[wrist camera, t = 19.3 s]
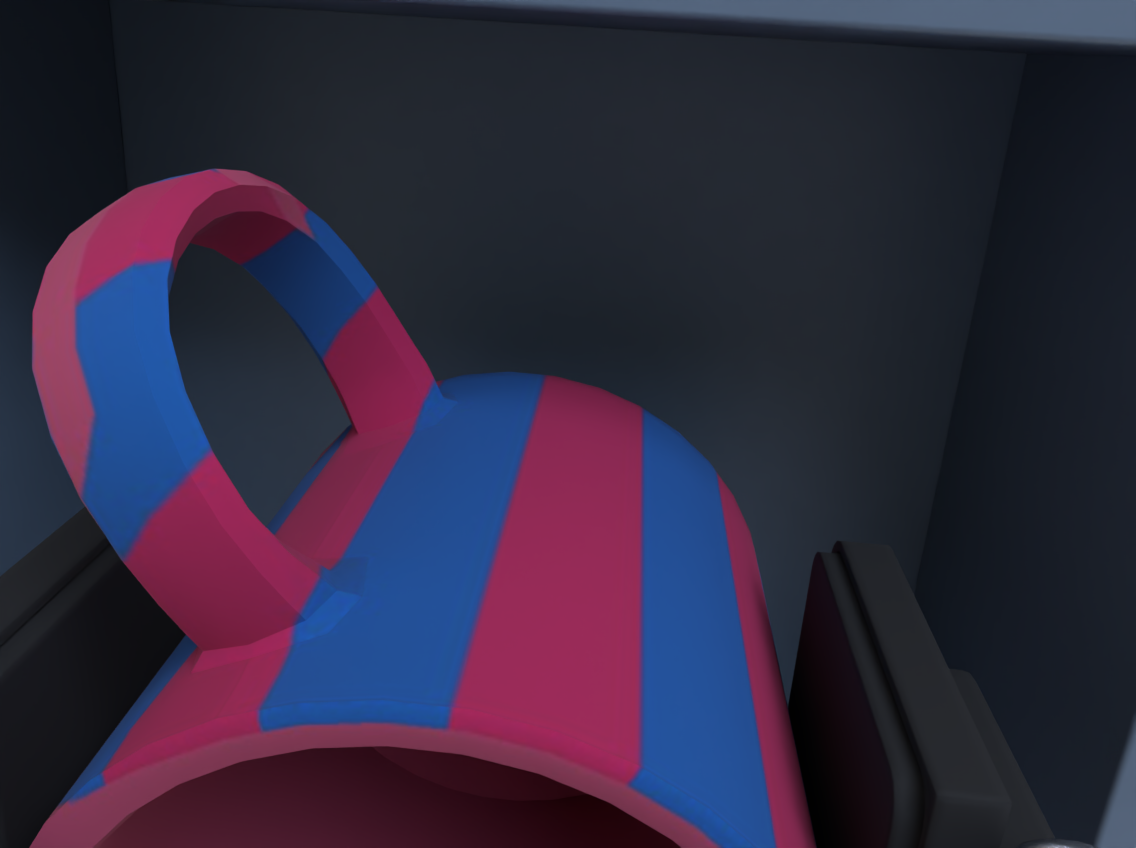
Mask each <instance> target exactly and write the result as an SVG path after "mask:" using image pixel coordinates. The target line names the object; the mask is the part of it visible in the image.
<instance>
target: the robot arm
mask: <svg viewBox="0 0 1136 848" xmlns="http://www.w3.org/2000/svg"><path fill="white" fill-rule="evenodd" d="M185 635H186V634H185V633H184V632H183V631H182V630H181V629H180V627H179V626H178V625H177V624H176V623H175V622H174V621H173V620H172V619H171V618H170V617H169V616H168V615H167V613H166V612H165V611H164V610H163V609H162V608H161V607H160V606H159V605H158V604H157V602H156V601H155V600H154V599H153V598H152V596H151V595H150V594H149V593H148V592H147V590H146V589H145V588H144V587H143V586H142V584H141V583H140V582H139V581H138V579H137V578H136V577H135V576H134V575H133V573H132V572H131V571H130V570H129V569H128V567H127V566H126V565H125V564H124V563H123V561H122V560H121V559H120V557H119V556H118V554H117V553H116V551H115V550H114V548H113V547H112V545H111V544H110V542H109V540H108V539H107V537H106V536H105V534H104V533H103V531H102V530H101V528H100V527H99V526H98V524H97V523H96V521H95V520H94V518H93V517H92V515H91V514H90V512H89V511H88V509H87V508H86V507H84V508H82V509H81V510H80V511H79V512H78V513H76V514H75V515H74V516H73V517H72V518H70V519H69V520H68V521H67V522H65V523H64V524H63V525H62V526H61V527H59V528H58V529H57V530H56V531H55V532H53V533H52V534H51V535H50V536H48V537H47V538H46V539H45V540H44V541H42V542H41V543H40V544H39V545H38V546H36V547H35V548H34V549H33V550H31V551H30V552H29V553H28V554H27V555H25V556H24V557H23V558H22V559H21V560H19V561H18V562H17V563H16V564H15V565H13V566H12V567H11V568H10V569H8V570H7V571H6V572H5V573H4V574H2V575H1V576H0V848H29V847H30V846H31V844H32V842H33V841H34V839H35V838H36V836H37V834H38V833H39V831H40V830H41V828H42V826H43V825H44V823H45V822H46V821H47V819H48V818H49V817H50V815H51V814H52V813H53V811H54V810H55V809H56V807H57V806H58V805H59V803H60V802H61V801H62V799H63V798H64V797H65V795H66V794H67V793H68V791H69V790H70V789H71V787H72V786H73V785H74V783H75V782H76V781H77V779H78V778H79V777H80V775H81V774H82V773H83V771H84V770H85V769H86V767H87V766H88V765H89V763H90V762H91V761H92V759H93V758H94V757H95V755H96V754H97V753H98V751H99V750H100V749H101V747H102V746H103V745H104V743H105V742H106V741H107V739H108V738H109V737H110V735H111V734H112V732H113V731H114V730H115V728H116V727H117V726H118V724H119V723H120V722H121V720H122V719H123V718H124V716H125V715H126V714H127V712H128V711H129V710H130V708H131V707H132V706H133V704H134V703H135V702H136V700H137V699H138V698H139V696H140V695H141V694H142V692H143V691H144V690H145V688H146V687H147V686H148V684H149V683H150V682H151V680H152V679H153V678H154V676H155V675H156V674H157V672H158V671H159V670H160V668H161V667H162V666H163V664H164V663H165V662H166V660H167V659H168V658H169V656H170V655H171V654H172V652H173V651H174V650H175V648H176V647H177V646H178V644H179V643H180V642H181V640H182V639H183V638H184V636H185ZM788 710H789V715H790V720H791V724H792V729H793V734H794V739H795V744H796V748H797V753H798V758H799V763H800V768H801V772H802V777H803V782H804V787H805V792H806V796H807V801H808V806H809V811H810V816H811V820H812V825H813V830H814V835H815V839H816V844H817V848H1099V847H1096V846H1092V845H1089V844H1086V843H1082V842H1079V841H1074V840H1064V839H1055V837H1054V835H1053V833H1052V831H1051V829H1050V827H1049V825H1048V823H1047V821H1046V819H1045V817H1044V815H1043V813H1042V811H1041V809H1040V807H1039V805H1038V803H1037V801H1036V799H1035V797H1034V795H1033V793H1032V791H1031V789H1030V787H1029V786H1028V784H1027V782H1026V780H1025V778H1024V776H1023V774H1022V772H1021V770H1020V768H1019V766H1018V764H1017V762H1016V760H1015V758H1014V756H1013V754H1012V752H1011V750H1010V748H1009V746H1008V744H1007V742H1006V740H1005V738H1004V736H1003V734H1002V732H1001V730H1000V728H999V726H998V724H997V722H996V720H995V718H994V716H993V714H992V712H991V710H990V708H989V706H988V704H987V702H986V700H985V698H984V696H983V694H982V692H981V690H980V688H979V686H978V685H977V683H976V681H975V680H974V678H973V677H972V675H971V674H970V673H969V672H966V671H964V670H957V669H949V668H948V666H947V664H946V662H945V660H944V657H943V655H942V653H941V651H940V649H939V647H938V645H937V643H936V641H935V638H934V636H933V634H932V632H931V630H930V628H929V626H928V624H927V621H926V619H925V617H924V615H923V613H922V611H921V609H920V607H919V605H918V602H917V600H916V598H915V596H914V594H913V592H912V590H911V588H910V585H909V583H908V581H907V579H906V577H905V575H904V573H903V571H902V568H901V566H900V564H899V562H898V560H897V558H896V556H895V554H894V552H893V549H892V548H891V547H890V545H881V544H870V543H859V542H848V541H837V542H836V543H835V544H834V547H833V549H832V552H831V553H826V552H817V553H816V554H815V557H814V560H813V565H812V570H811V576H810V582H809V587H808V593H807V599H806V605H805V611H804V616H803V622H802V628H801V634H800V640H799V645H798V651H797V657H796V663H795V669H794V674H793V680H792V686H791V692H790V698H789V703H788Z"/></svg>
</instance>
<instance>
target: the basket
mask: <svg viewBox="0 0 1136 848" xmlns="http://www.w3.org/2000/svg"><path fill="white" fill-rule="evenodd" d="M209 169H226V170H238V171H247V172H249V173H252V174H254V175H257V176H259V177H262V178H264V179H266V180H269V181H271V182H274V183H276V184H279V185H280V186H281V187H282V188H284V189H285V190H286V191H287V192H289V193H290V194H291V195H292V196H294V197H295V198H296V199H297V200H299V201H300V202H301V203H302V204H304V205H305V206H306V207H307V208H309V209H310V210H311V211H312V212H314V213H315V214H316V215H317V216H319V217H320V218H321V219H322V220H323V221H325V222H326V223H327V224H328V225H329V226H330V227H331V229H332V230H333V231H334V232H335V233H336V234H337V235H338V236H339V238H340V239H341V240H342V241H343V242H344V243H345V244H346V245H347V247H348V248H349V249H350V250H351V251H352V252H353V254H354V255H355V256H356V258H357V259H358V260H359V262H360V263H361V264H362V266H363V267H364V269H365V270H366V271H367V273H368V274H369V275H370V277H371V278H372V279H373V281H374V282H375V283H376V285H377V286H378V288H379V289H380V291H381V293H382V294H383V296H384V297H385V299H386V300H387V302H388V304H389V305H390V307H391V308H392V310H393V311H394V313H395V315H396V316H397V318H398V319H399V321H400V322H401V324H402V326H403V327H404V329H405V330H406V332H407V334H408V335H409V337H410V338H411V340H412V342H413V343H414V345H415V346H416V348H417V349H418V351H419V352H420V354H421V355H422V357H423V358H424V360H425V361H426V363H427V365H428V367H429V369H430V371H431V373H432V375H433V377H434V379H435V381H436V382H437V381H441V380H445V379H449V378H453V377H457V376H461V375H468V374H482V373H497V372H519V373H529V374H540V375H550V376H557V377H561V378H565V379H568V380H572V381H576V382H580V383H583V384H587V385H591V386H595V387H598V388H601V389H603V390H606V391H608V392H610V393H612V394H614V395H617V396H619V397H621V398H623V399H625V400H628V401H630V402H632V403H634V404H636V405H639V406H641V407H643V408H644V409H645V410H647V411H648V412H650V413H651V414H653V415H654V416H656V417H657V418H659V419H660V420H662V421H663V422H665V423H666V424H668V425H669V426H671V427H672V428H674V429H675V430H676V431H678V432H679V433H680V434H681V435H682V436H683V437H684V438H685V439H686V440H687V441H688V442H689V443H691V444H692V445H693V446H694V447H695V448H696V449H697V450H698V451H699V452H700V453H701V454H702V455H703V456H704V457H705V458H706V459H707V460H708V461H709V462H710V463H711V465H712V466H713V467H714V469H715V470H716V472H717V473H718V474H719V476H720V477H721V479H722V480H723V481H724V483H725V484H726V486H727V487H728V488H729V490H730V491H731V493H732V494H733V495H734V498H735V500H736V502H737V504H738V506H739V508H740V511H741V513H742V515H743V517H744V519H745V521H746V524H747V526H748V528H749V530H750V533H751V537H752V541H753V545H754V550H755V554H756V558H757V562H758V566H759V571H760V576H761V580H762V585H763V590H764V595H765V600H766V604H767V609H768V614H769V619H770V624H771V628H772V633H773V638H774V643H775V648H776V652H777V657H778V662H779V667H780V672H781V676H782V681H783V686H784V691H785V696H786V700H787V705H788V703H789V698H790V692H791V686H792V680H793V674H794V669H795V663H796V657H797V651H798V645H799V640H800V634H801V628H802V622H803V616H804V611H805V605H806V599H807V593H808V587H809V582H810V576H811V570H812V565H813V560H814V557H815V554H816V553H817V552H826V553H831V552H832V549H833V547H834V544H835V543H836V542H837V541H848V542H859V543H870V544H881V545H890V547H891V548H892V549H893V552H894V554H895V556H896V558H897V560H898V562H899V564H900V566H901V568H902V571H903V573H904V575H905V577H906V579H907V581H908V583H909V585H910V588H911V590H912V592H913V594H914V596H915V598H916V600H917V602H918V605H919V607H920V609H921V611H922V613H923V615H924V617H925V619H926V621H927V624H928V626H929V628H930V630H931V632H932V634H933V636H934V638H935V641H936V643H937V645H938V647H939V649H940V651H941V653H942V655H943V657H944V660H945V662H946V664H947V666H948V668H949V669H957V670H964V671H966V672H969V673H970V674H971V675H972V677H973V678H974V680H975V681H976V683H977V685H978V686H979V688H980V690H981V692H982V694H983V696H984V698H985V700H986V702H987V704H988V706H989V708H990V710H991V712H992V714H993V716H994V718H995V720H996V722H997V724H998V726H999V728H1000V730H1001V732H1002V734H1003V736H1004V738H1005V740H1006V742H1007V744H1008V746H1009V748H1010V750H1011V752H1012V754H1013V756H1014V758H1015V760H1016V762H1017V764H1018V766H1019V768H1020V770H1021V772H1022V774H1023V776H1024V778H1025V780H1026V782H1027V784H1028V786H1029V787H1030V789H1031V791H1032V793H1033V795H1034V797H1035V799H1036V801H1037V803H1038V805H1039V807H1040V809H1041V811H1042V813H1043V815H1044V817H1045V819H1046V821H1047V823H1048V825H1049V827H1050V829H1051V831H1052V833H1053V835H1054V837H1055V839H1064V840H1074V841H1079V842H1082V843H1086V844H1089V845H1092V846H1096V847H1099V848H1136V0H0V576H1V575H2V574H4V573H5V572H6V571H7V570H8V569H10V568H11V567H12V566H13V565H15V564H16V563H17V562H18V561H19V560H21V559H22V558H23V557H24V556H25V555H27V554H28V553H29V552H30V551H31V550H33V549H34V548H35V547H36V546H38V545H39V544H40V543H41V542H42V541H44V540H45V539H46V538H47V537H48V536H50V535H51V534H52V533H53V532H55V531H56V530H57V529H58V528H59V527H61V526H62V525H63V524H64V523H65V522H67V521H68V520H69V519H70V518H72V517H73V516H74V515H75V514H76V513H78V512H79V511H80V510H81V509H82V508H84V507H85V505H84V504H83V502H82V501H81V499H80V497H79V495H78V493H77V491H76V489H75V487H74V485H73V483H72V481H71V479H70V477H69V475H68V473H67V471H66V469H65V466H64V464H63V462H62V460H61V458H60V456H59V454H58V452H57V450H56V448H55V446H54V444H53V442H52V440H51V436H50V433H49V429H48V425H47V422H46V418H45V414H44V411H43V407H42V403H41V400H40V396H39V392H38V389H37V385H36V381H35V378H34V374H33V370H32V333H33V309H34V306H35V302H36V299H37V296H38V292H39V289H40V286H41V283H42V279H43V276H44V273H45V270H46V267H47V265H48V264H49V262H50V261H51V260H52V258H53V257H54V255H55V254H56V253H57V251H58V250H59V248H60V247H61V245H62V244H63V243H64V241H65V240H66V238H67V237H68V236H69V234H71V233H72V232H73V231H75V230H76V229H77V228H78V227H80V226H81V225H82V224H84V223H85V222H86V221H88V220H89V219H90V218H92V217H93V216H94V215H96V214H97V213H98V212H100V211H101V210H103V209H105V208H106V207H108V206H109V205H111V204H112V203H114V202H115V201H117V200H118V199H120V198H121V197H123V196H125V195H126V194H128V193H129V192H131V191H132V190H134V189H135V188H138V187H141V186H144V185H148V184H151V183H154V182H157V181H161V180H164V179H167V178H171V177H176V176H181V175H185V174H190V173H195V172H200V171H204V170H209ZM168 299H169V329H170V335H171V338H172V342H173V346H174V350H175V354H176V357H177V361H178V365H179V369H180V372H181V376H182V380H183V384H184V387H185V391H186V393H187V395H188V398H189V400H190V402H191V404H192V407H193V409H194V411H195V413H196V415H197V418H198V420H199V422H200V424H201V427H202V429H203V431H204V433H205V436H206V438H207V440H208V442H209V444H210V447H211V449H212V451H213V453H214V455H215V456H216V458H217V460H218V461H219V463H220V464H221V466H222V467H223V469H224V471H225V472H226V474H227V475H228V477H229V479H230V480H231V482H232V483H233V485H234V486H235V488H236V490H237V491H238V493H239V494H240V496H241V497H242V499H243V501H244V502H245V504H246V505H247V507H248V508H249V510H250V511H251V512H252V513H253V514H254V515H255V516H256V517H257V519H258V520H259V521H260V522H261V523H262V524H263V525H264V526H265V527H267V526H268V524H269V523H270V521H271V520H272V519H273V517H274V516H275V515H276V513H277V512H278V511H279V509H280V508H281V507H282V505H283V504H284V503H285V501H286V500H287V499H288V497H289V496H290V495H291V493H292V492H293V491H294V489H295V488H296V487H297V485H298V484H299V483H300V481H301V480H302V479H303V477H304V476H305V475H306V473H307V472H308V471H309V469H310V468H311V467H312V465H313V464H314V463H315V461H316V460H317V459H318V457H319V456H320V455H321V454H322V453H323V452H324V451H325V449H326V448H327V447H328V446H329V445H330V444H331V443H332V442H333V441H334V440H335V439H336V438H337V437H338V436H339V435H340V434H341V433H342V432H343V431H344V430H345V429H346V428H347V427H348V426H349V425H351V421H350V419H349V417H348V415H347V413H346V411H345V409H344V407H343V405H342V403H341V401H340V399H339V396H338V394H337V392H336V390H335V388H334V387H333V385H332V383H331V381H330V379H329V377H328V375H327V373H326V372H325V370H324V368H323V366H322V365H321V363H320V361H319V359H318V358H317V356H316V354H315V352H314V350H313V349H312V348H311V346H310V345H309V343H308V342H307V340H306V339H305V338H304V336H303V335H302V333H301V332H300V330H299V329H298V327H297V326H296V325H295V323H294V322H293V320H292V319H291V317H290V316H289V315H288V314H287V313H286V311H285V310H284V309H283V308H282V307H281V306H280V305H279V303H278V302H277V301H276V300H275V299H274V298H273V297H272V296H271V294H270V293H269V292H268V291H267V290H266V289H265V288H264V286H263V285H262V284H261V283H260V282H258V281H257V280H256V279H255V278H254V277H253V276H252V275H251V274H250V273H249V272H248V271H247V270H246V269H245V268H243V267H242V266H241V265H239V264H238V263H236V262H234V261H232V260H231V259H229V258H227V257H226V256H224V255H222V254H221V253H219V252H217V251H216V250H214V249H211V248H207V247H203V246H200V245H196V244H192V243H189V244H188V246H187V247H186V249H185V251H184V252H183V254H182V255H181V257H180V258H179V260H178V264H177V267H176V271H175V275H174V278H173V282H172V286H171V290H170V293H169V297H168Z"/></svg>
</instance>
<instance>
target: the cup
mask: <svg viewBox="0 0 1136 848" xmlns="http://www.w3.org/2000/svg"><path fill="white" fill-rule="evenodd" d="M189 243H192V244H196V245H200V246H203V247H207V248H211V249H214V250H216V251H217V252H219V253H221V254H222V255H224V256H226V257H227V258H229V259H231V260H232V261H234V262H236V263H238V264H239V265H241V266H242V267H243V268H245V269H246V270H247V271H248V272H249V273H250V274H251V275H252V276H253V277H254V278H255V279H256V280H257V281H258V282H260V283H261V284H262V285H263V286H264V288H265V289H266V290H267V291H268V292H269V293H270V294H271V296H272V297H273V298H274V299H275V300H276V301H277V302H278V303H279V305H280V306H281V307H282V308H283V309H284V310H285V311H286V313H287V314H288V315H289V316H290V317H291V319H292V320H293V322H294V323H295V325H296V326H297V327H298V329H299V330H300V332H301V333H302V335H303V336H304V338H305V339H306V340H307V342H308V343H309V345H310V346H311V348H312V349H313V350H314V352H315V354H316V356H317V358H318V359H319V361H320V363H321V365H322V366H323V368H324V370H325V372H326V373H327V375H328V377H329V379H330V381H331V383H332V385H333V387H334V388H335V390H336V392H337V394H338V396H339V399H340V401H341V403H342V405H343V407H344V409H345V411H346V413H347V415H348V417H349V419H350V421H351V425H349V426H348V427H347V428H346V429H345V430H344V431H343V432H342V433H341V434H340V435H339V436H338V437H337V438H336V439H335V440H334V441H333V442H332V443H331V444H330V445H329V446H328V447H327V448H326V449H325V451H324V452H323V453H322V454H321V455H320V456H319V457H318V459H317V460H316V461H315V463H314V464H313V465H312V467H311V468H310V469H309V471H308V472H307V473H306V475H305V476H304V477H303V479H302V480H301V481H300V483H299V484H298V485H297V487H296V488H295V489H294V491H293V492H292V493H291V495H290V496H289V497H288V499H287V500H286V501H285V503H284V504H283V505H282V507H281V508H280V509H279V511H278V512H277V513H276V515H275V516H274V517H273V519H272V520H271V521H270V523H269V524H268V526H267V527H265V526H264V525H263V524H262V523H261V522H260V521H259V520H258V519H257V517H256V516H255V515H254V514H253V513H252V512H251V511H250V510H249V508H248V507H247V505H246V504H245V502H244V501H243V499H242V497H241V496H240V494H239V493H238V491H237V490H236V488H235V486H234V485H233V483H232V482H231V480H230V479H229V477H228V475H227V474H226V472H225V471H224V469H223V467H222V466H221V464H220V463H219V461H218V460H217V458H216V456H215V455H214V453H213V451H212V449H211V447H210V444H209V442H208V440H207V438H206V436H205V433H204V431H203V429H202V427H201V424H200V422H199V420H198V418H197V415H196V413H195V411H194V409H193V407H192V404H191V402H190V400H189V398H188V395H187V393H186V391H185V387H184V384H183V380H182V376H181V372H180V369H179V365H178V361H177V357H176V354H175V350H174V346H173V342H172V338H171V335H170V329H169V299H168V297H169V293H170V290H171V286H172V282H173V278H174V275H175V271H176V267H177V264H178V260H179V258H180V257H181V255H182V254H183V252H184V251H185V249H186V247H187V246H188V244H189ZM32 370H33V374H34V378H35V381H36V385H37V389H38V392H39V396H40V400H41V403H42V407H43V411H44V414H45V418H46V422H47V425H48V429H49V433H50V436H51V440H52V442H53V444H54V446H55V448H56V450H57V452H58V454H59V456H60V458H61V460H62V462H63V464H64V466H65V469H66V471H67V473H68V475H69V477H70V479H71V481H72V483H73V485H74V487H75V489H76V491H77V493H78V495H79V497H80V499H81V501H82V502H83V504H84V505H85V507H86V508H87V509H88V511H89V512H90V514H91V515H92V517H93V518H94V520H95V521H96V523H97V524H98V526H99V527H100V528H101V530H102V531H103V533H104V534H105V536H106V537H107V539H108V540H109V542H110V544H111V545H112V547H113V548H114V550H115V551H116V553H117V554H118V556H119V557H120V559H121V560H122V561H123V563H124V564H125V565H126V566H127V567H128V569H129V570H130V571H131V572H132V573H133V575H134V576H135V577H136V578H137V579H138V581H139V582H140V583H141V584H142V586H143V587H144V588H145V589H146V590H147V592H148V593H149V594H150V595H151V596H152V598H153V599H154V600H155V601H156V602H157V604H158V605H159V606H160V607H161V608H162V609H163V610H164V611H165V612H166V613H167V615H168V616H169V617H170V618H171V619H172V620H173V621H174V622H175V623H176V624H177V625H178V626H179V627H180V629H181V630H182V631H183V632H184V633H185V634H186V635H185V636H184V638H183V639H182V640H181V642H180V643H179V644H178V646H177V647H176V648H175V650H174V651H173V652H172V654H171V655H170V656H169V658H168V659H167V660H166V662H165V663H164V664H163V666H162V667H161V668H160V670H159V671H158V672H157V674H156V675H155V676H154V678H153V679H152V680H151V682H150V683H149V684H148V686H147V687H146V688H145V690H144V691H143V692H142V694H141V695H140V696H139V698H138V699H137V700H136V702H135V703H134V704H133V706H132V707H131V708H130V710H129V711H128V712H127V714H126V715H125V716H124V718H123V719H122V720H121V722H120V723H119V724H118V726H117V727H116V728H115V730H114V731H113V732H112V734H111V735H110V737H109V738H108V739H107V741H106V742H105V743H104V745H103V746H102V747H101V749H100V750H99V751H98V753H97V754H96V755H95V757H94V758H93V759H92V761H91V762H90V763H89V765H88V766H87V767H86V769H85V770H84V771H83V773H82V774H81V775H80V777H79V778H78V779H77V781H76V782H75V783H74V785H73V786H72V787H71V789H70V790H69V791H68V793H67V794H66V795H65V797H64V798H63V799H62V801H61V802H60V803H59V805H58V806H57V807H56V809H55V810H54V811H53V813H52V814H51V815H50V817H49V818H48V819H47V821H46V822H45V823H44V825H43V826H42V828H41V830H40V831H39V833H38V834H37V836H36V838H35V839H34V841H33V842H32V844H31V846H30V847H29V848H817V844H816V839H815V835H814V830H813V825H812V820H811V816H810V811H809V806H808V801H807V796H806V792H805V787H804V782H803V777H802V772H801V768H800V763H799V758H798V753H797V748H796V744H795V739H794V734H793V729H792V724H791V720H790V715H789V710H788V705H787V700H786V696H785V691H784V686H783V681H782V676H781V672H780V667H779V662H778V657H777V652H776V648H775V643H774V638H773V633H772V628H771V624H770V619H769V614H768V609H767V604H766V600H765V595H764V590H763V585H762V580H761V576H760V571H759V566H758V562H757V558H756V554H755V550H754V545H753V541H752V537H751V533H750V530H749V528H748V526H747V524H746V521H745V519H744V517H743V515H742V513H741V511H740V508H739V506H738V504H737V502H736V500H735V498H734V495H733V494H732V493H731V491H730V490H729V488H728V487H727V486H726V484H725V483H724V481H723V480H722V479H721V477H720V476H719V474H718V473H717V472H716V470H715V469H714V467H713V466H712V465H711V463H710V462H709V461H708V460H707V459H706V458H705V457H704V456H703V455H702V454H701V453H700V452H699V451H698V450H697V449H696V448H695V447H694V446H693V445H692V444H691V443H689V442H688V441H687V440H686V439H685V438H684V437H683V436H682V435H681V434H680V433H679V432H678V431H676V430H675V429H674V428H672V427H671V426H669V425H668V424H666V423H665V422H663V421H662V420H660V419H659V418H657V417H656V416H654V415H653V414H651V413H650V412H648V411H647V410H645V409H644V408H643V407H641V406H639V405H636V404H634V403H632V402H630V401H628V400H625V399H623V398H621V397H619V396H617V395H614V394H612V393H610V392H608V391H606V390H603V389H601V388H598V387H595V386H591V385H587V384H583V383H580V382H576V381H572V380H568V379H565V378H561V377H557V376H550V375H540V374H529V373H519V372H497V373H482V374H468V375H461V376H457V377H453V378H449V379H445V380H441V381H437V382H436V381H435V379H434V377H433V375H432V373H431V371H430V369H429V367H428V365H427V363H426V361H425V360H424V358H423V357H422V355H421V354H420V352H419V351H418V349H417V348H416V346H415V345H414V343H413V342H412V340H411V338H410V337H409V335H408V334H407V332H406V330H405V329H404V327H403V326H402V324H401V322H400V321H399V319H398V318H397V316H396V315H395V313H394V311H393V310H392V308H391V307H390V305H389V304H388V302H387V300H386V299H385V297H384V296H383V294H382V293H381V291H380V289H379V288H378V286H377V285H376V283H375V282H374V281H373V279H372V278H371V277H370V275H369V274H368V273H367V271H366V270H365V269H364V267H363V266H362V264H361V263H360V262H359V260H358V259H357V258H356V256H355V255H354V254H353V252H352V251H351V250H350V249H349V248H348V247H347V245H346V244H345V243H344V242H343V241H342V240H341V239H340V238H339V236H338V235H337V234H336V233H335V232H334V231H333V230H332V229H331V227H330V226H329V225H328V224H327V223H326V222H325V221H323V220H322V219H321V218H320V217H319V216H317V215H316V214H315V213H314V212H312V211H311V210H310V209H309V208H307V207H306V206H305V205H304V204H302V203H301V202H300V201H299V200H297V199H296V198H295V197H294V196H292V195H291V194H290V193H289V192H287V191H286V190H285V189H284V188H282V187H281V186H280V185H279V184H276V183H274V182H271V181H269V180H266V179H264V178H262V177H259V176H257V175H254V174H252V173H249V172H247V171H238V170H226V169H209V170H204V171H200V172H195V173H190V174H185V175H181V176H176V177H171V178H167V179H164V180H161V181H157V182H154V183H151V184H148V185H144V186H141V187H138V188H135V189H134V190H132V191H131V192H129V193H128V194H126V195H125V196H123V197H121V198H120V199H118V200H117V201H115V202H114V203H112V204H111V205H109V206H108V207H106V208H105V209H103V210H101V211H100V212H98V213H97V214H96V215H94V216H93V217H92V218H90V219H89V220H88V221H86V222H85V223H84V224H82V225H81V226H80V227H78V228H77V229H76V230H75V231H73V232H72V233H71V234H69V236H68V237H67V238H66V240H65V241H64V243H63V244H62V245H61V247H60V248H59V250H58V251H57V253H56V254H55V255H54V257H53V258H52V260H51V261H50V262H49V264H48V265H47V267H46V270H45V273H44V276H43V279H42V283H41V286H40V289H39V292H38V296H37V299H36V302H35V306H34V309H33V333H32Z"/></svg>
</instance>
